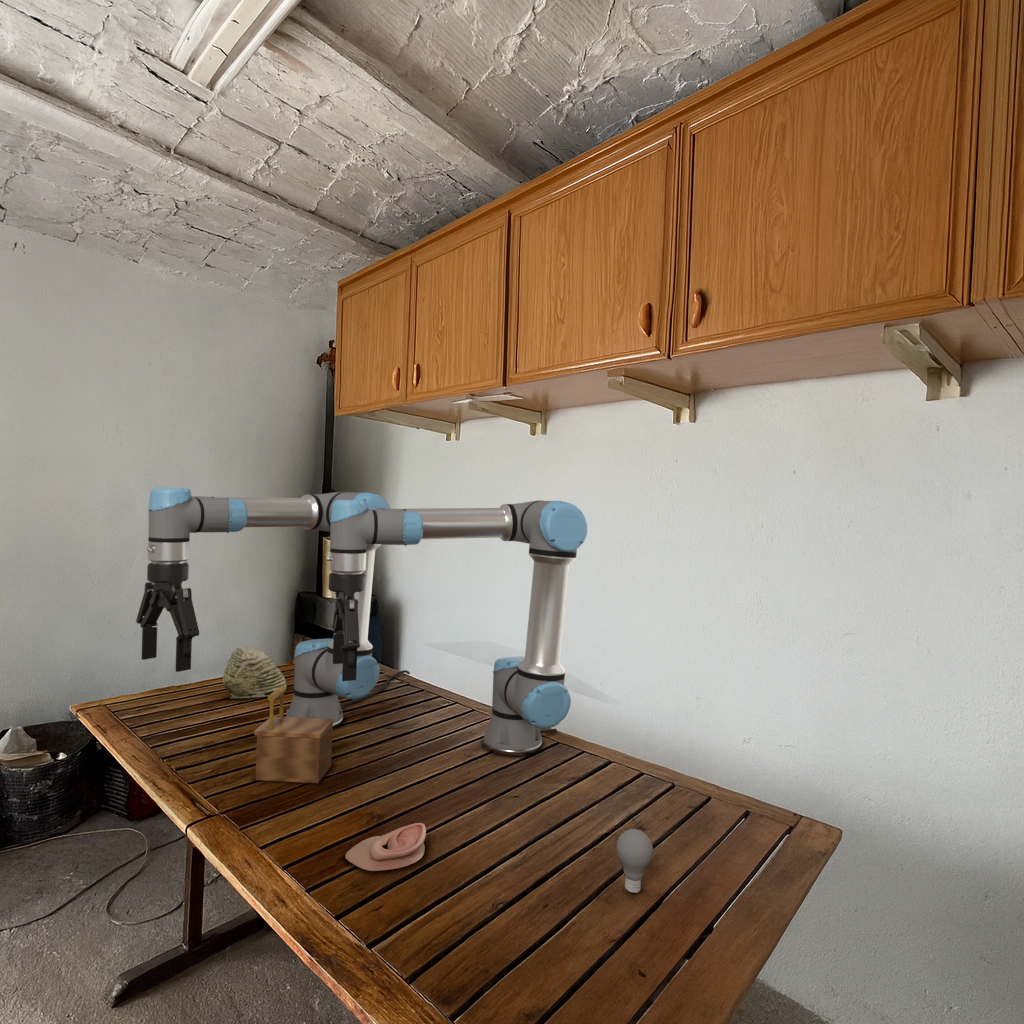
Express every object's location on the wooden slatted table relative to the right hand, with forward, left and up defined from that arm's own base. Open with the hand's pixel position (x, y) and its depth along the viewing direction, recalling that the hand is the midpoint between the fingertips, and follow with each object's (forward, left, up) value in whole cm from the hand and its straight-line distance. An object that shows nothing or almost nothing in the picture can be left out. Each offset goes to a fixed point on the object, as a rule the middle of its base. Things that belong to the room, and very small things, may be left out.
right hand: (343, 671), depth 135 cm
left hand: (+35, -11, +1) cm, 36 cm away
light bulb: (-40, +51, -26) cm, 70 cm away
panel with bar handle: (+8, -14, -16) cm, 23 cm away
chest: (+8, -13, -26) cm, 31 cm away
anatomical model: (-4, +26, -26) cm, 37 cm away
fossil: (+15, -75, -26) cm, 81 cm away
